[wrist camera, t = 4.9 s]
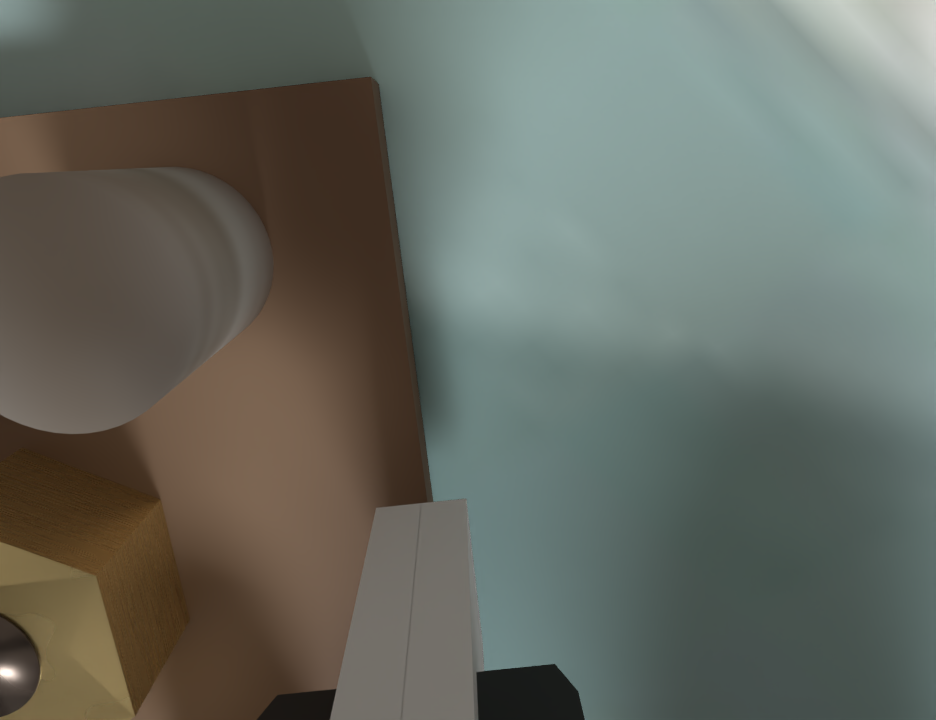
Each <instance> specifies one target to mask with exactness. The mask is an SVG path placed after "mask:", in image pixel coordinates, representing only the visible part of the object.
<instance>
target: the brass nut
mask: <svg viewBox="0 0 936 720" xmlns="http://www.w3.org/2000/svg"><path fill="white" fill-rule="evenodd" d="M189 620H190V617H189V613H188V609H187V605H186V600H185V596H184V592H183V588H182V584H181V580H180V576H179V572H178V567H177V563H176V559H175V555H174V551H173V547H172V543H171V539H170V535H169V530H168V526H167V522H166V518H165V514H164V510H163V506H162V502H161V499H159V498H156V497H154V496H151V495H148V494H146V493H143V492H140V491H138V490H135V489H132V488H130V487H127V486H124V485H122V484H119V483H116V482H114V481H111V480H108V479H106V478H103V477H100V476H98V475H95V474H92V473H90V472H87V471H84V470H81V469H79V468H76V467H73V466H71V465H68V464H65V463H63V462H60V461H57V460H55V459H52V458H49V457H47V456H44V455H41V454H39V453H36V452H33V451H31V450H28V449H25V448H23V447H22V448H21V449H19V450H18V451H16V452H15V453H13V454H12V455H10V456H9V457H7V458H6V459H5V460H3V461H2V462H0V720H131V719H132V718H134V717H135V716H136V714H137V712H138V710H139V709H140V707H141V705H142V703H143V702H144V700H145V698H146V696H147V694H148V693H149V691H150V689H151V687H152V686H153V684H154V682H155V680H156V679H157V677H158V675H159V673H160V672H161V670H162V668H163V666H164V665H165V663H166V661H167V659H168V657H169V656H170V654H171V652H172V650H173V649H174V647H175V645H176V643H177V642H178V640H179V638H180V636H181V635H182V633H183V631H184V629H185V628H186V626H187V624H188V622H189Z"/></svg>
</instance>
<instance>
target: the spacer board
mask: <svg viewBox="0 0 936 720" xmlns="http://www.w3.org/2000/svg"><path fill="white" fill-rule="evenodd" d="M22 447H23V448H25V449H28V450H31V451H33V452H36V453H39V454H41V455H44V456H47V457H49V458H52V459H55V460H57V461H60V462H63V463H65V464H68V465H71V466H73V467H76V468H79V469H81V470H84V471H87V472H90V473H92V474H95V475H98V476H100V477H103V478H106V479H108V480H111V481H114V482H116V483H119V484H122V485H124V486H127V487H130V488H132V489H135V490H138V491H140V492H143V493H146V494H148V495H151V496H154V497H156V498H159V499H161V502H162V506H163V510H164V514H165V518H166V522H167V526H168V530H169V535H170V539H171V543H172V547H173V551H174V555H175V559H176V563H177V567H178V572H179V576H180V580H181V584H182V588H183V592H184V596H185V600H186V605H187V609H188V613H189V617H190V620H189V622H188V624H187V626H186V628H185V629H184V631H183V633H182V635H181V636H180V638H179V640H178V642H177V643H176V645H175V647H174V649H173V650H172V652H171V654H170V656H169V657H168V659H167V661H166V663H165V665H164V666H163V668H162V670H161V672H160V673H159V675H158V677H157V679H156V680H155V682H154V684H153V686H152V687H151V689H150V691H149V693H148V694H147V696H146V698H145V700H144V702H143V703H142V705H141V707H140V709H139V710H138V712H137V714H136V716H135V717H134V718H132V719H131V720H257V719H258V717H259V716H260V715H261V714H262V713H263V711H264V710H265V709H266V708H267V707H268V705H269V704H270V703H271V702H272V701H273V699H274V698H275V697H276V696H277V695H281V694H291V693H300V692H310V691H320V690H330V689H337V685H338V680H339V676H340V671H341V666H342V662H343V657H344V653H345V648H346V644H347V639H348V634H349V630H350V625H351V621H352V616H353V612H354V607H355V603H356V598H357V593H358V589H359V584H360V580H361V575H362V571H363V566H364V561H365V557H366V552H367V548H368V543H369V539H370V534H371V529H372V525H373V520H374V516H375V511H376V508H380V507H389V506H399V505H409V504H418V503H428V502H433V497H432V489H431V482H430V474H429V466H428V459H427V451H426V443H425V436H424V428H423V420H422V413H421V405H420V397H419V390H418V382H417V374H416V367H415V359H414V352H413V344H412V336H411V329H410V321H409V313H408V306H407V298H406V290H405V283H404V275H403V267H402V260H401V252H400V244H399V237H398V229H397V221H396V214H395V206H394V198H393V191H392V183H391V175H390V168H389V160H388V152H387V145H386V137H385V129H384V122H383V114H382V106H381V99H380V91H379V84H378V83H377V82H376V81H375V80H374V79H373V78H372V77H364V78H355V79H346V80H337V81H328V82H319V83H310V84H301V85H292V86H283V87H274V88H265V89H256V90H247V91H238V92H229V93H220V94H211V95H202V96H193V97H184V98H175V99H166V100H157V101H148V102H139V103H130V104H121V105H112V106H103V107H94V108H85V109H76V110H67V111H58V112H49V113H40V114H31V115H22V116H12V117H3V118H0V462H2V461H3V460H5V459H6V458H7V457H9V456H10V455H12V454H13V453H15V452H16V451H18V450H19V449H21V448H22Z"/></svg>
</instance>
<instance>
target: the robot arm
mask: <svg viewBox="0 0 936 720" xmlns="http://www.w3.org/2000/svg"><path fill="white" fill-rule="evenodd" d="M257 720H585V719H584V715H583V710H582V706H581V702H580V697H579V693H578V691H577V690H576V689H575V687H574V686H573V685H572V684H571V683H570V681H569V680H568V679H567V678H566V677H565V675H564V674H563V673H562V672H561V671H560V670H559V668H558V667H557V666H556V665H555V664H551V665H541V666H531V667H521V668H511V669H501V670H491V671H484V658H483V641H482V631H481V623H480V614H479V605H478V596H477V588H476V579H475V570H474V562H473V553H472V544H471V535H470V527H469V518H468V509H467V500H466V499H457V500H448V501H438V502H428V503H418V504H409V505H399V506H389V507H380V508H376V511H375V516H374V520H373V525H372V529H371V534H370V539H369V543H368V548H367V552H366V557H365V561H364V566H363V571H362V575H361V580H360V584H359V589H358V593H357V598H356V603H355V607H354V612H353V616H352V621H351V625H350V630H349V634H348V639H347V644H346V648H345V653H344V657H343V662H342V666H341V671H340V676H339V680H338V685H337V689H330V690H320V691H310V692H300V693H291V694H281V695H277V696H276V697H275V698H274V699H273V701H272V702H271V703H270V704H269V705H268V707H267V708H266V709H265V710H264V711H263V713H262V714H261V715H260V716H259V717H258V719H257Z"/></svg>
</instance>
